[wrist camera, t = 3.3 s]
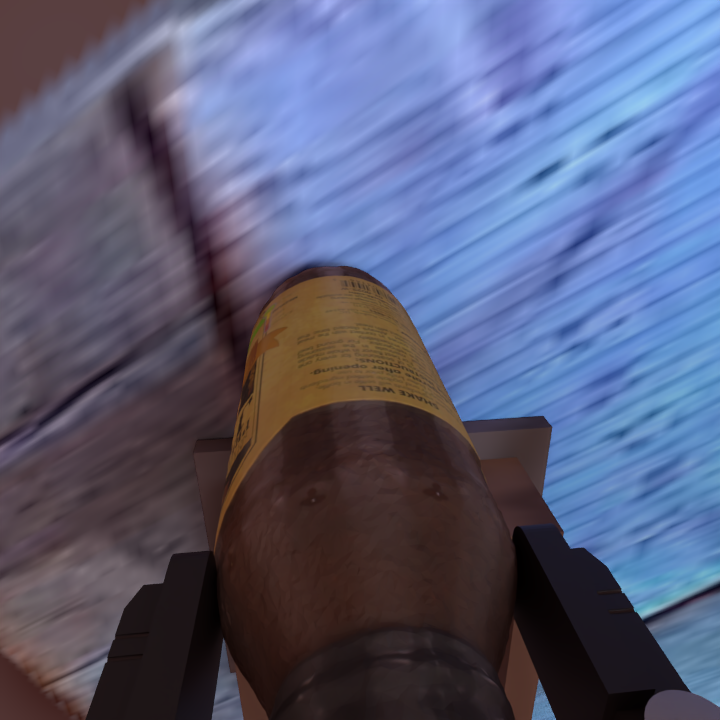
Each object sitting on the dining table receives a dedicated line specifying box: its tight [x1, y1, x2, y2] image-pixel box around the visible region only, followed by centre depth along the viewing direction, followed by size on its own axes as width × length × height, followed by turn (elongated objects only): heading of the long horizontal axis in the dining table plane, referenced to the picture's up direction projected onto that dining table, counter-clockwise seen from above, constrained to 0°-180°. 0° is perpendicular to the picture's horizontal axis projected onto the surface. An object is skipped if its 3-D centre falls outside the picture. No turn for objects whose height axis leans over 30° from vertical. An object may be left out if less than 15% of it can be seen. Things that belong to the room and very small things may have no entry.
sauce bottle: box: [214, 266, 518, 720], centre depth 14 cm, size 6×6×20 cm
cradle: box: [193, 416, 564, 720], centre depth 26 cm, size 16×14×6 cm
